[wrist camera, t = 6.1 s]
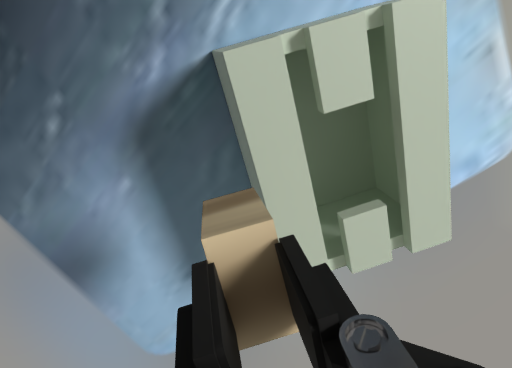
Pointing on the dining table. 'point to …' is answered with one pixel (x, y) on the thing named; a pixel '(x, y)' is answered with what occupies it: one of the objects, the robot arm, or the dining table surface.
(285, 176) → the box
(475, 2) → the dining table surface
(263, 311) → the block
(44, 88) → the dining table surface
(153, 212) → the dining table surface
